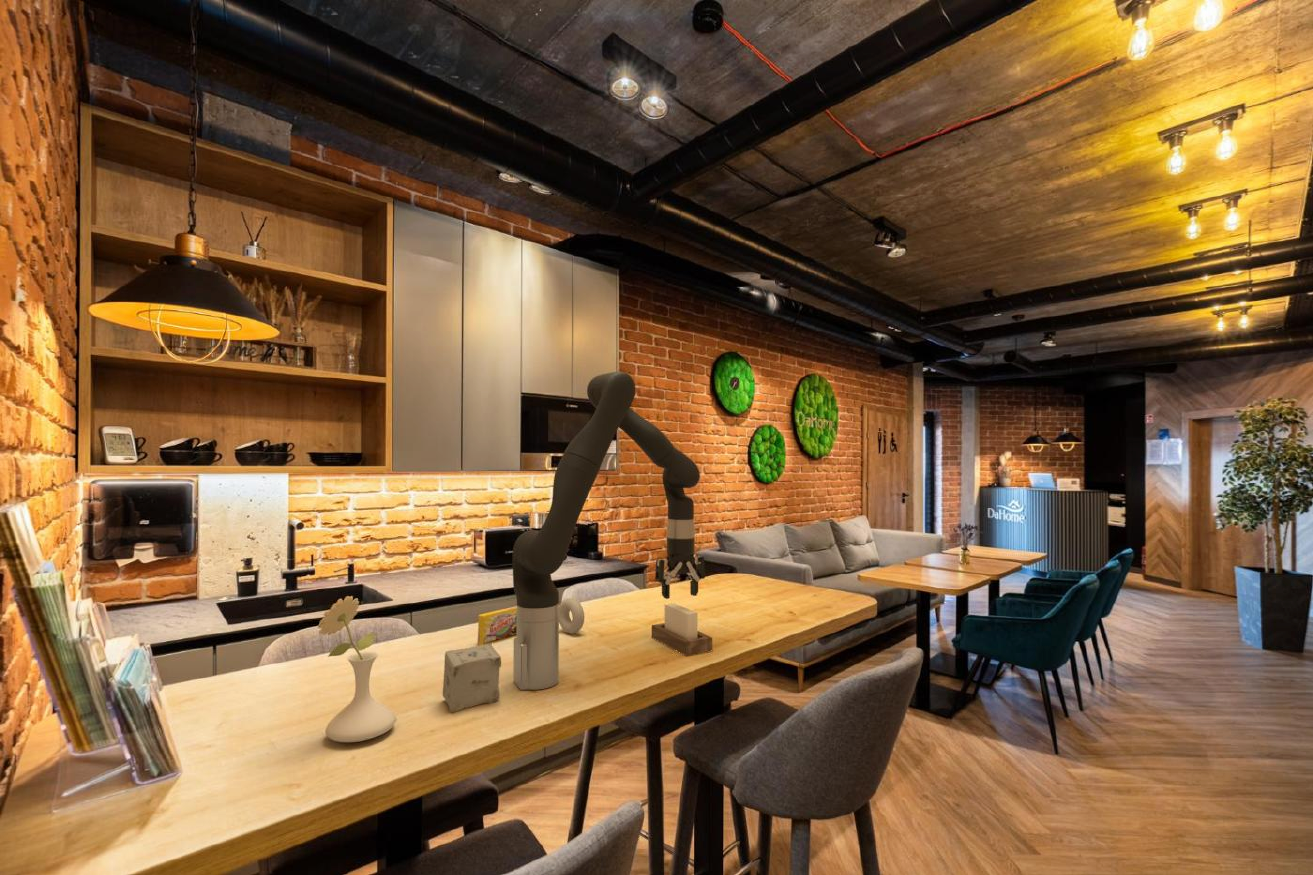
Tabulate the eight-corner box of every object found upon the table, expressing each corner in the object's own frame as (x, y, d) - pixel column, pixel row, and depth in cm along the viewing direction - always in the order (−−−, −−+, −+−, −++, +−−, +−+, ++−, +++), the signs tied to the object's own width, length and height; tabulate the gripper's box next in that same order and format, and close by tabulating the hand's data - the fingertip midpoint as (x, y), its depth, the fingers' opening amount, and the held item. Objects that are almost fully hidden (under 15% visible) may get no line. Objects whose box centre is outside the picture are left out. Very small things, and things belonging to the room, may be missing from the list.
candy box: (481, 647, 156) (482, 615, 156) (476, 646, 157) (477, 614, 158) (529, 633, 169) (529, 604, 169) (524, 632, 170) (524, 603, 170)
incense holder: (452, 715, 114) (452, 661, 114) (441, 701, 121) (442, 649, 121) (502, 704, 119) (502, 651, 120) (489, 691, 126) (489, 641, 126)
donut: (587, 635, 166) (587, 599, 167) (577, 638, 164) (577, 601, 164) (564, 628, 173) (564, 594, 173) (555, 631, 170) (555, 596, 171)
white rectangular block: (687, 649, 152) (687, 614, 152) (664, 637, 162) (664, 604, 163) (697, 647, 153) (697, 612, 154) (674, 635, 164) (673, 603, 164)
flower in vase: (378, 715, 114) (380, 584, 115) (408, 732, 107) (410, 592, 108) (303, 739, 104) (307, 596, 105) (331, 760, 97) (334, 605, 98)
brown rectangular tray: (685, 656, 148) (685, 642, 148) (651, 637, 164) (651, 625, 164) (712, 651, 152) (712, 637, 152) (676, 633, 168) (676, 621, 168)
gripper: (664, 538, 153) (664, 602, 152) (710, 536, 159) (710, 596, 159) (650, 535, 159) (650, 596, 158) (695, 533, 166) (695, 591, 165)
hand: (680, 596), depth 158 cm, fingers open, 8 cm apart
